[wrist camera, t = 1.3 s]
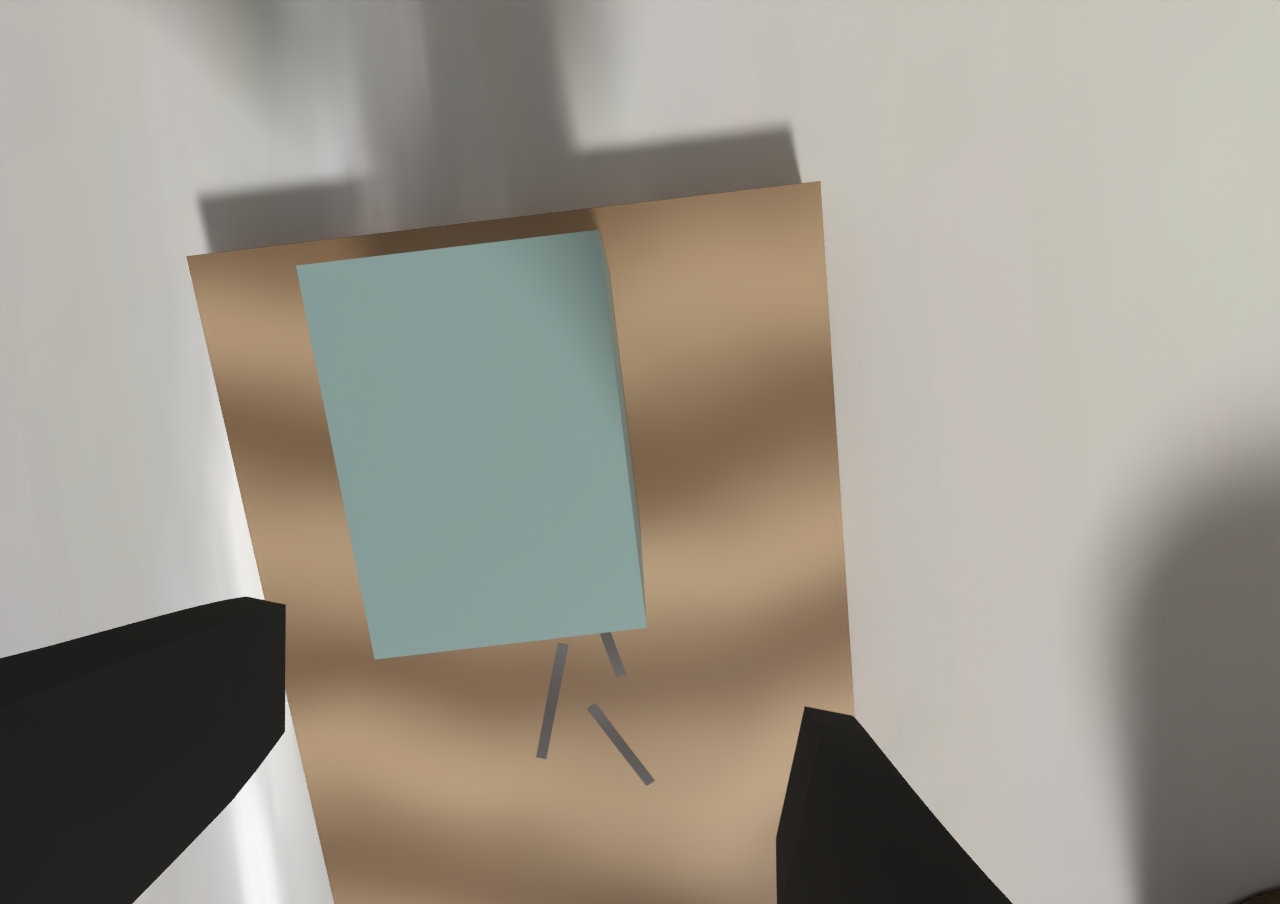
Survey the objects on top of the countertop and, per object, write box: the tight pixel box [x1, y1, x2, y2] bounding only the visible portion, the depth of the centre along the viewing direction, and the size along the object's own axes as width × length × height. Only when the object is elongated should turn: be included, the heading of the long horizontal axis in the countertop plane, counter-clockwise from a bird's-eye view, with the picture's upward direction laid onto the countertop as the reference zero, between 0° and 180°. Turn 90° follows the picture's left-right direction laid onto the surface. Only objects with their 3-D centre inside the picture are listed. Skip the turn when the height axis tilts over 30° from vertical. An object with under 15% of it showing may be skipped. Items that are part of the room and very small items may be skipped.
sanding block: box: [296, 230, 647, 659], centre depth 14 cm, size 7×5×6 cm
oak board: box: [187, 181, 855, 904], centre depth 19 cm, size 24×16×2 cm, turn 7°
